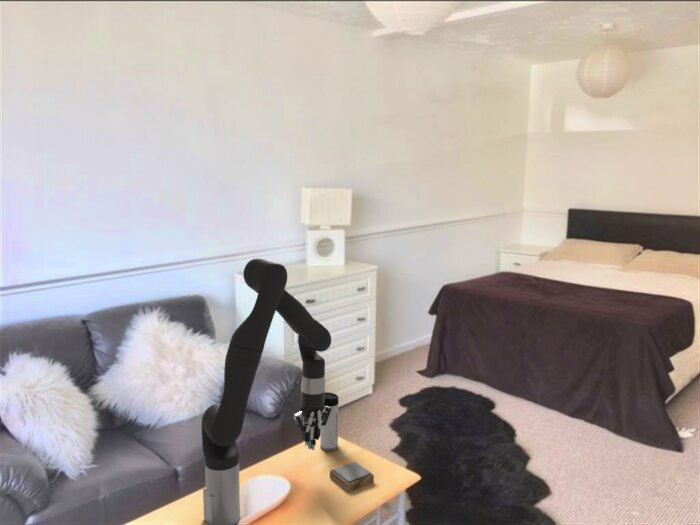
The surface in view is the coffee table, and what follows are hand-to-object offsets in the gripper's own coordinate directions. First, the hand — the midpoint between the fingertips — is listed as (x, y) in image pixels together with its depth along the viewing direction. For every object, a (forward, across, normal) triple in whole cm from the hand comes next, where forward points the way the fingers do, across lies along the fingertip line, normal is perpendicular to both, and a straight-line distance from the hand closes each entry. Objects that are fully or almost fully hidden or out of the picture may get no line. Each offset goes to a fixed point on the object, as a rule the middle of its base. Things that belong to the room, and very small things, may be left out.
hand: (311, 440), depth 180 cm
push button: (+2, 0, 0) cm, 2 cm away
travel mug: (+12, +16, +12) cm, 24 cm away
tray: (+12, +10, -10) cm, 18 cm away
